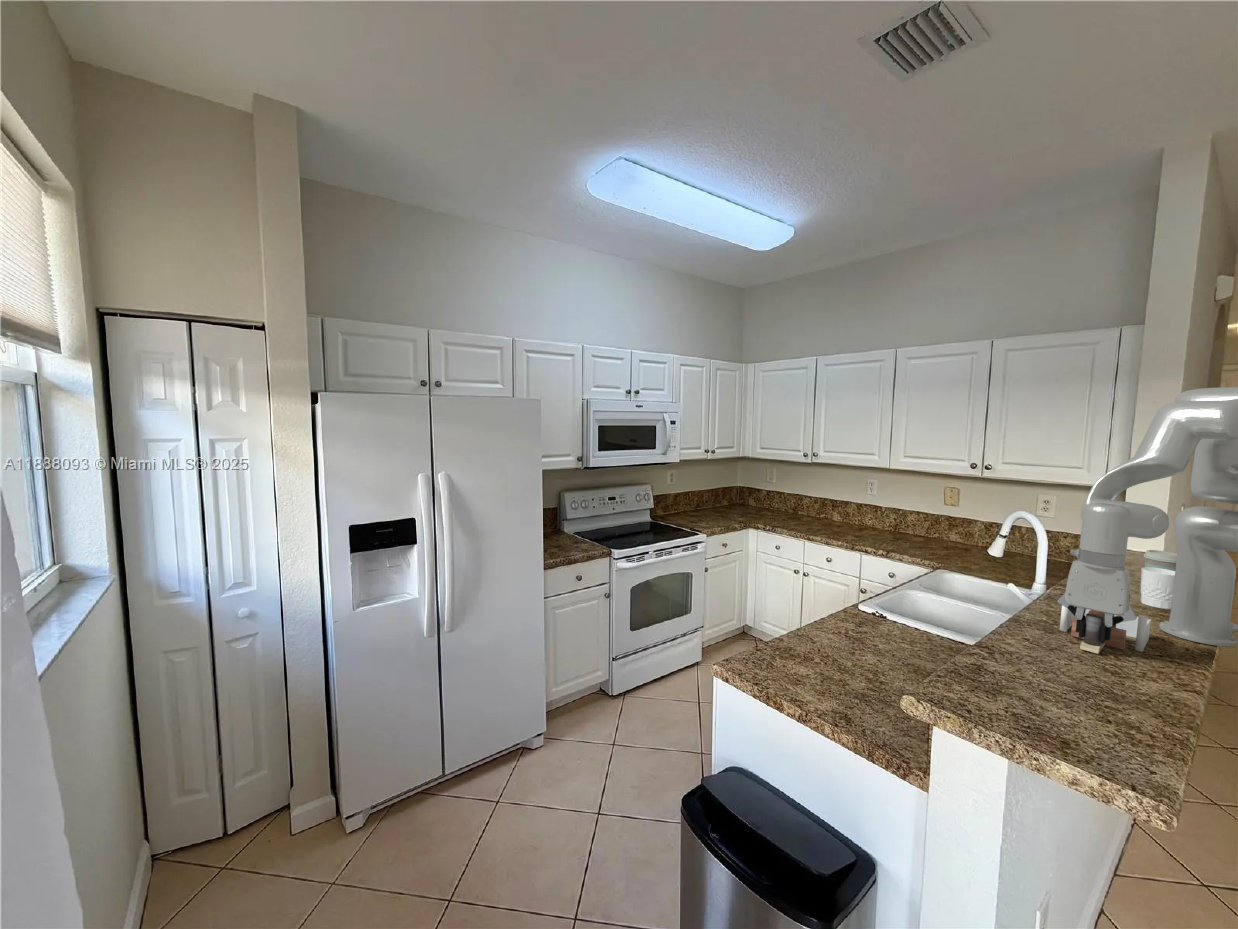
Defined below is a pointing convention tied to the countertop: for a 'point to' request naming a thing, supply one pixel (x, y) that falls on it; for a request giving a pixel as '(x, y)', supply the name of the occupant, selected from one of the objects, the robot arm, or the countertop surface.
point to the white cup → (1157, 587)
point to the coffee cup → (1160, 559)
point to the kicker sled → (1098, 634)
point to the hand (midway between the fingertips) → (1092, 638)
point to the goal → (1133, 628)
